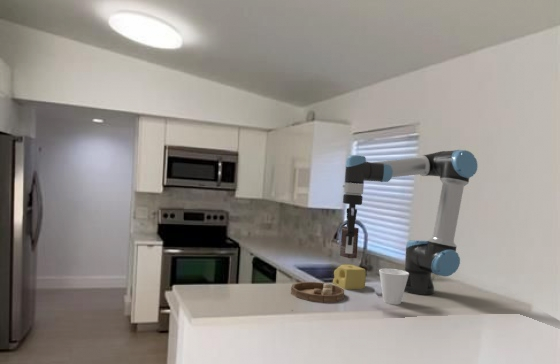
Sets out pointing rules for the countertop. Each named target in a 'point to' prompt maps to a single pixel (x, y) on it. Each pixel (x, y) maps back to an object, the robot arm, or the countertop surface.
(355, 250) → the box
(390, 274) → the cup
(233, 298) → the countertop surface
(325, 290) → the bead
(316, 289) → the walnut tray
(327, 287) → the bead
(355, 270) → the cheese
